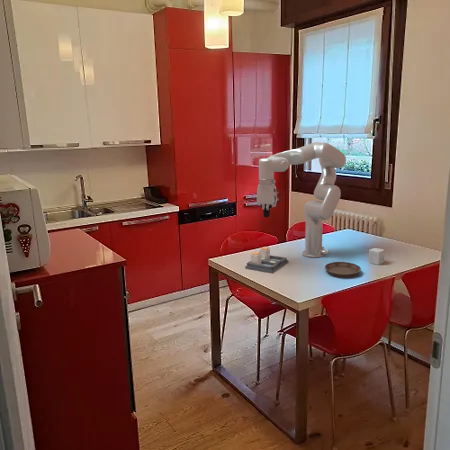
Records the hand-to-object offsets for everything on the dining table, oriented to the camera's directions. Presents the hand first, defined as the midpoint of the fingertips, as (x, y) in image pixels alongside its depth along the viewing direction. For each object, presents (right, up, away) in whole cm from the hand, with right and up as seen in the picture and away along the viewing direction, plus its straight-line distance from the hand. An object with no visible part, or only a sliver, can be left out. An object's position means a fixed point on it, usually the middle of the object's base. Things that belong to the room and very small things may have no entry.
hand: (266, 216), depth 228 cm
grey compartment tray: (+1, -26, +7) cm, 27 cm away
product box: (+60, -25, +5) cm, 65 cm away
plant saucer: (+38, -29, -8) cm, 48 cm away
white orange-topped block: (0, -23, +12) cm, 26 cm away
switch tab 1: (-5, -26, +4) cm, 26 cm away
